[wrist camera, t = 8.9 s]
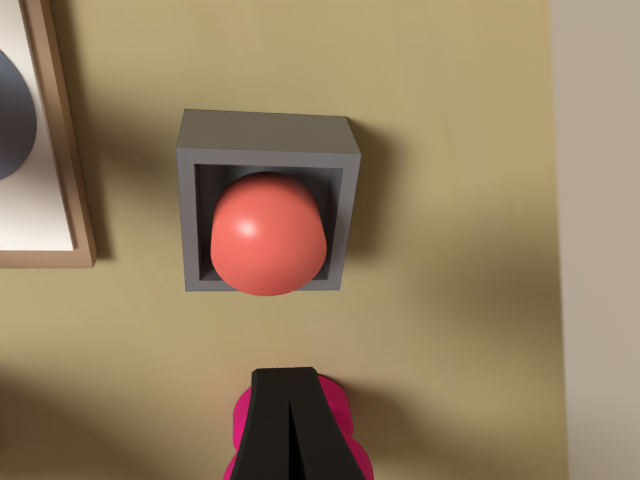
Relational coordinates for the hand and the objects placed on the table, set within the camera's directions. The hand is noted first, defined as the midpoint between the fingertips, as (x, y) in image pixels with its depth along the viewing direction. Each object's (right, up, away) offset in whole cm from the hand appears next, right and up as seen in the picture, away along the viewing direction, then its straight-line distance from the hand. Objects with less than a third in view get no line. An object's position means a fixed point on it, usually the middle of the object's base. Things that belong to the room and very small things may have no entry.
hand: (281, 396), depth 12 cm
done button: (-1, +4, +6) cm, 7 cm away
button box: (-1, +6, +8) cm, 10 cm away
